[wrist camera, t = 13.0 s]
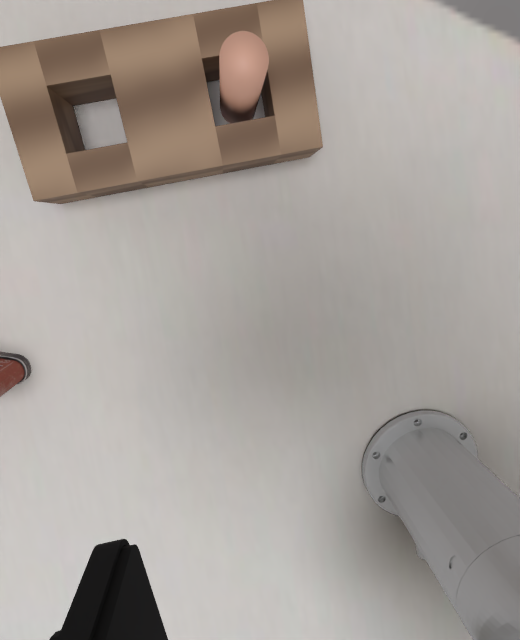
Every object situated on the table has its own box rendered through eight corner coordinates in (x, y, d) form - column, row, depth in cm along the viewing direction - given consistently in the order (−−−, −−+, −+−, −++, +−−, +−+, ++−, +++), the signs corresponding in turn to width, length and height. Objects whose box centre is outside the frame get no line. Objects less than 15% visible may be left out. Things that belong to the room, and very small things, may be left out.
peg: (258, 122, 34) (272, 82, 24) (224, 128, 34) (224, 90, 24) (252, 84, 33) (264, 27, 24) (216, 90, 33) (214, 35, 24)
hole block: (309, 157, 35) (322, 146, 30) (60, 203, 34) (33, 201, 29) (290, 28, 33) (302, -5, 28) (21, 75, 32) (-15, 49, 27)
